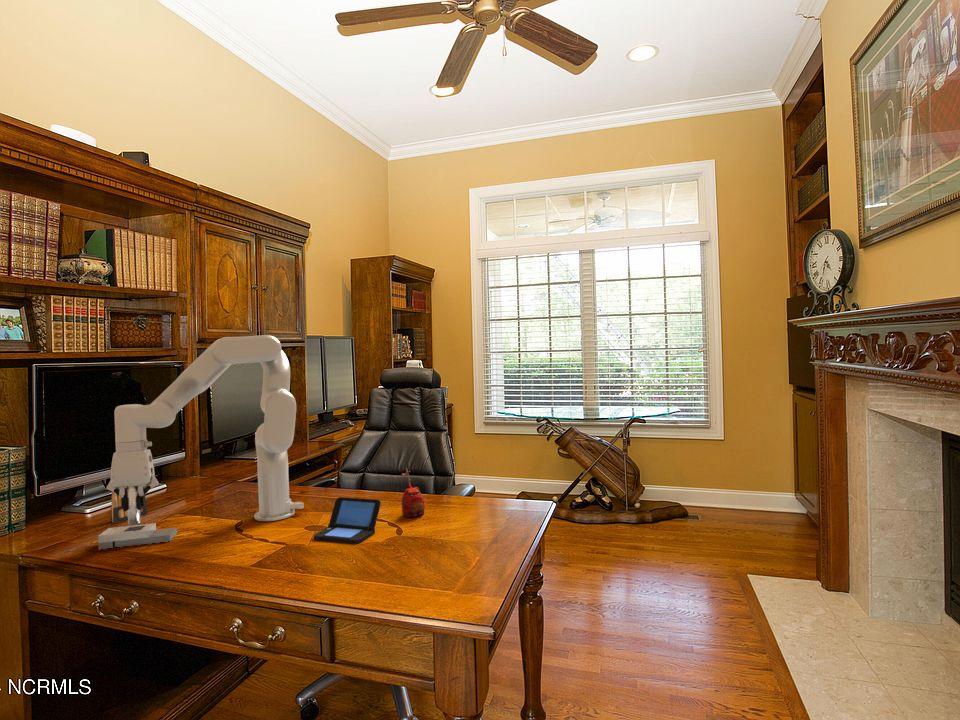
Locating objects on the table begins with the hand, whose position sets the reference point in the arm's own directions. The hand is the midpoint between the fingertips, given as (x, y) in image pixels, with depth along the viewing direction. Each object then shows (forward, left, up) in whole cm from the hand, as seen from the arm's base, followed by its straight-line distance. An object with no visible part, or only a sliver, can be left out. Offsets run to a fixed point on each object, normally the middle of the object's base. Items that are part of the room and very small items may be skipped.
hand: (133, 508), depth 153 cm
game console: (-60, +15, -10) cm, 63 cm away
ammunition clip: (+11, -28, -10) cm, 32 cm away
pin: (0, 0, -4) cm, 4 cm away
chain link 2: (-3, 0, -10) cm, 10 cm away
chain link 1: (+2, 0, -10) cm, 10 cm away
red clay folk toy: (-81, +4, -10) cm, 82 cm away
